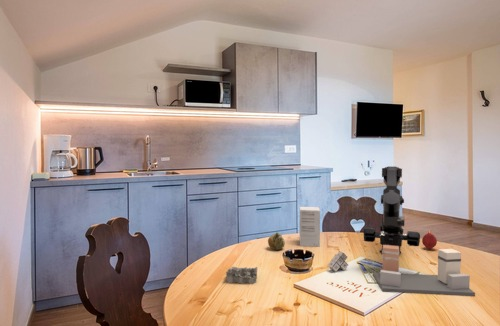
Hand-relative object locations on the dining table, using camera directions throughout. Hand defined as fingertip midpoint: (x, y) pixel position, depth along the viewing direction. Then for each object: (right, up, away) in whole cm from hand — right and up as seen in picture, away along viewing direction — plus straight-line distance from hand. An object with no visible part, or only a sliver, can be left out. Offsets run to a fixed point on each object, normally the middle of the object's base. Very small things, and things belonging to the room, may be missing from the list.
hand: (390, 257), depth 120 cm
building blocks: (-16, -7, +9) cm, 20 cm away
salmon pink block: (-1, -6, -2) cm, 6 cm away
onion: (+31, -6, +33) cm, 45 cm away
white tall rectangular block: (+16, -6, -7) cm, 19 cm away
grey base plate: (+7, -7, -6) cm, 12 cm away
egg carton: (-52, -8, -1) cm, 52 cm away
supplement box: (-21, -5, +43) cm, 48 cm away
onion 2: (-37, -6, +34) cm, 50 cm away
